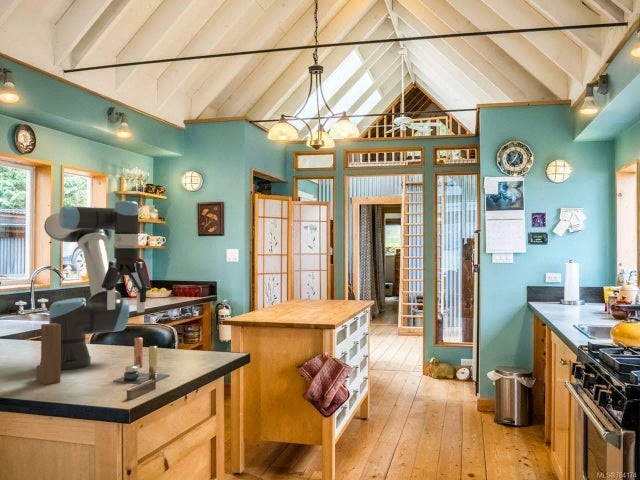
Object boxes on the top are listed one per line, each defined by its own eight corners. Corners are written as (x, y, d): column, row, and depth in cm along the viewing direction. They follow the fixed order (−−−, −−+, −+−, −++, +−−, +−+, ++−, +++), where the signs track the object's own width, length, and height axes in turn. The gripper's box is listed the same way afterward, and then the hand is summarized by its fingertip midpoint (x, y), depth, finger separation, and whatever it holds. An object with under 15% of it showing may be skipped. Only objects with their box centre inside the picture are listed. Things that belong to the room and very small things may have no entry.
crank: (135, 373, 169) (135, 342, 169) (123, 373, 169) (123, 342, 169) (145, 366, 179) (145, 337, 179) (134, 366, 179) (134, 337, 179)
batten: (126, 399, 150) (126, 389, 150) (150, 388, 161) (150, 379, 161) (131, 399, 149) (131, 390, 149) (155, 388, 161) (155, 379, 161)
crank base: (113, 381, 169) (113, 348, 169) (134, 373, 180) (134, 342, 181) (150, 384, 166) (150, 350, 166) (169, 375, 177) (170, 343, 177)
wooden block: (35, 379, 172) (36, 322, 172) (51, 377, 175) (51, 321, 175) (45, 385, 165) (45, 325, 165) (60, 382, 168) (61, 324, 168)
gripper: (91, 246, 185) (90, 309, 185) (145, 247, 173) (144, 314, 173) (108, 246, 191) (108, 307, 191) (162, 247, 180) (161, 312, 180)
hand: (125, 310), depth 182 cm, fingers open, 13 cm apart
